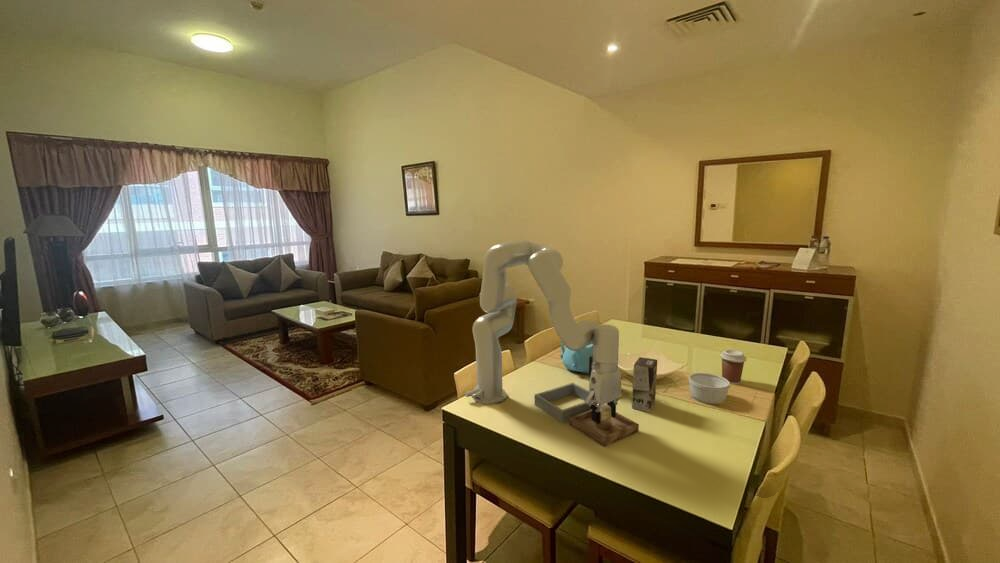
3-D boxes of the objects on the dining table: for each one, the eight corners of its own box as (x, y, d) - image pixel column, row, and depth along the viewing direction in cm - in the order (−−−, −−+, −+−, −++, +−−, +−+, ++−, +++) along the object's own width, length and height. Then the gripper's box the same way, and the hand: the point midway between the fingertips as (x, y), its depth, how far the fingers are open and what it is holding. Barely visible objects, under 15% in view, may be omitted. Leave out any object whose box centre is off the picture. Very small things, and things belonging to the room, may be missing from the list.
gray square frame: (562, 423, 132) (562, 411, 131) (534, 405, 145) (534, 394, 144) (601, 408, 141) (602, 397, 141) (572, 392, 154) (572, 382, 153)
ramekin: (726, 393, 151) (728, 375, 150) (729, 409, 139) (731, 390, 138) (687, 387, 157) (689, 370, 155) (687, 402, 145) (688, 383, 144)
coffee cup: (719, 383, 159) (722, 354, 157) (716, 375, 167) (719, 347, 165) (746, 387, 156) (749, 357, 153) (742, 378, 164) (744, 349, 162)
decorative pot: (593, 360, 185) (594, 332, 183) (606, 374, 170) (607, 343, 167) (558, 362, 184) (559, 334, 182) (568, 377, 168) (568, 345, 166)
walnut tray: (604, 447, 119) (604, 439, 118) (569, 424, 131) (569, 417, 131) (638, 431, 126) (638, 424, 126) (602, 411, 139) (603, 405, 138)
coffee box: (650, 412, 138) (652, 368, 135) (631, 408, 141) (632, 364, 138) (655, 402, 145) (658, 359, 142) (637, 397, 149) (639, 356, 146)
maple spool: (603, 431, 125) (603, 413, 124) (592, 424, 129) (591, 407, 128) (615, 425, 128) (614, 408, 127) (603, 419, 132) (602, 402, 131)
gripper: (593, 375, 117) (592, 432, 121) (633, 362, 126) (631, 416, 129) (575, 367, 124) (575, 421, 127) (615, 355, 133) (613, 406, 136)
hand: (603, 418), depth 128 cm, fingers open, 6 cm apart
